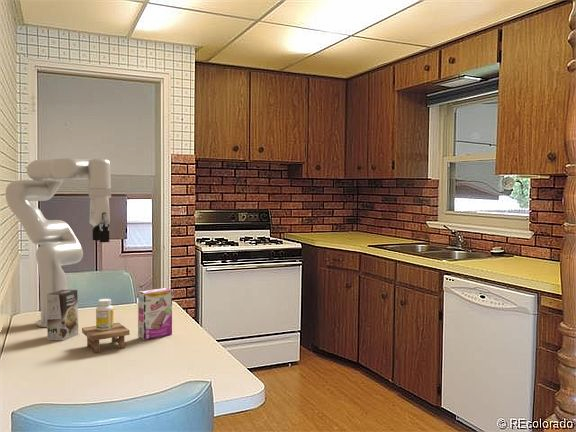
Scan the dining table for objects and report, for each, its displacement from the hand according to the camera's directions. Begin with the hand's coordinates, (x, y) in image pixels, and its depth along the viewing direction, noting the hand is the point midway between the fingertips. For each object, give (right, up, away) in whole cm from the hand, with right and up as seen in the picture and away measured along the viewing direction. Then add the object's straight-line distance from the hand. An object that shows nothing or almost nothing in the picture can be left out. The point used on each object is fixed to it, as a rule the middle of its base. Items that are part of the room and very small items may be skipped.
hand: (100, 241), depth 188 cm
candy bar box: (+21, -34, -4) cm, 40 cm away
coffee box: (-12, -34, -4) cm, 36 cm away
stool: (+7, -34, -16) cm, 39 cm away
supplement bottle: (+7, -28, -16) cm, 33 cm away
